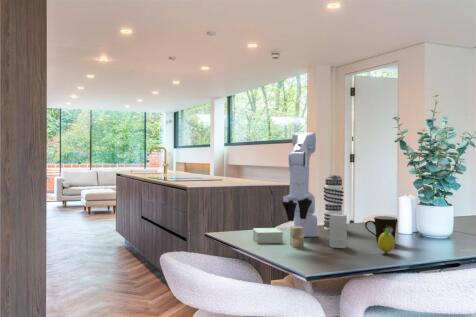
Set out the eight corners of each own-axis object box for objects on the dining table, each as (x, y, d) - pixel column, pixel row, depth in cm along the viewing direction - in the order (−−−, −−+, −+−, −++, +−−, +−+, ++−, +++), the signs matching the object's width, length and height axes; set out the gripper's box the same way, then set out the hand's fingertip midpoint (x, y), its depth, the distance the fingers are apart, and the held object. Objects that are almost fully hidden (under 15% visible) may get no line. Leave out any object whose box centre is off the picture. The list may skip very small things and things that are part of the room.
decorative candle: (322, 226, 200) (322, 174, 200) (342, 227, 199) (342, 175, 199) (323, 230, 191) (324, 175, 191) (344, 230, 190) (345, 175, 190)
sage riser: (276, 237, 172) (277, 227, 172) (282, 242, 162) (282, 232, 162) (252, 237, 171) (253, 228, 171) (257, 243, 161) (257, 232, 161)
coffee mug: (397, 242, 166) (398, 217, 166) (396, 246, 158) (396, 219, 158) (367, 239, 171) (367, 215, 171) (364, 243, 163) (364, 217, 163)
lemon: (388, 256, 141) (388, 227, 141) (373, 253, 146) (373, 224, 146) (399, 254, 145) (399, 225, 145) (384, 250, 150) (385, 223, 150)
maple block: (300, 244, 159) (300, 226, 159) (303, 246, 155) (303, 228, 155) (290, 244, 158) (290, 226, 158) (292, 247, 155) (293, 228, 154)
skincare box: (346, 246, 157) (347, 214, 157) (345, 248, 153) (346, 216, 153) (330, 245, 159) (330, 213, 159) (329, 247, 155) (329, 215, 155)
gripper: (300, 182, 165) (299, 216, 165) (276, 183, 154) (276, 220, 154) (315, 183, 160) (314, 218, 160) (292, 184, 149) (291, 222, 149)
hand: (297, 219), depth 157 cm, fingers open, 7 cm apart
